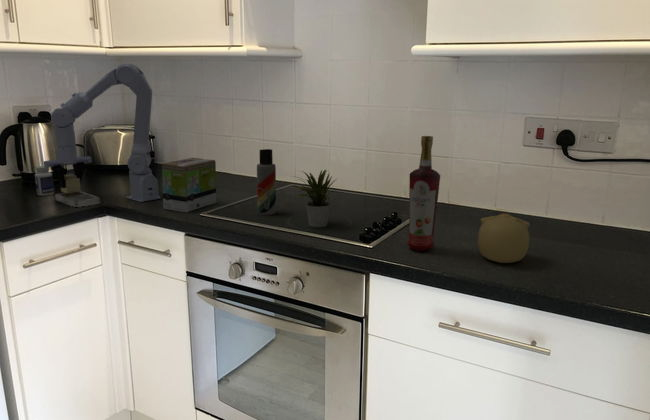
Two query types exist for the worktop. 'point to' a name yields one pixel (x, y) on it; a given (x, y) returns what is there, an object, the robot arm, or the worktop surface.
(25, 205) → the worktop surface
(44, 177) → the pill bottle
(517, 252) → the sculpture
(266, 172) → the lotion bottle
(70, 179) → the block
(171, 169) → the tea box
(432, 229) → the liquor
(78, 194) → the grey flat frame
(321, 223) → the house plant
